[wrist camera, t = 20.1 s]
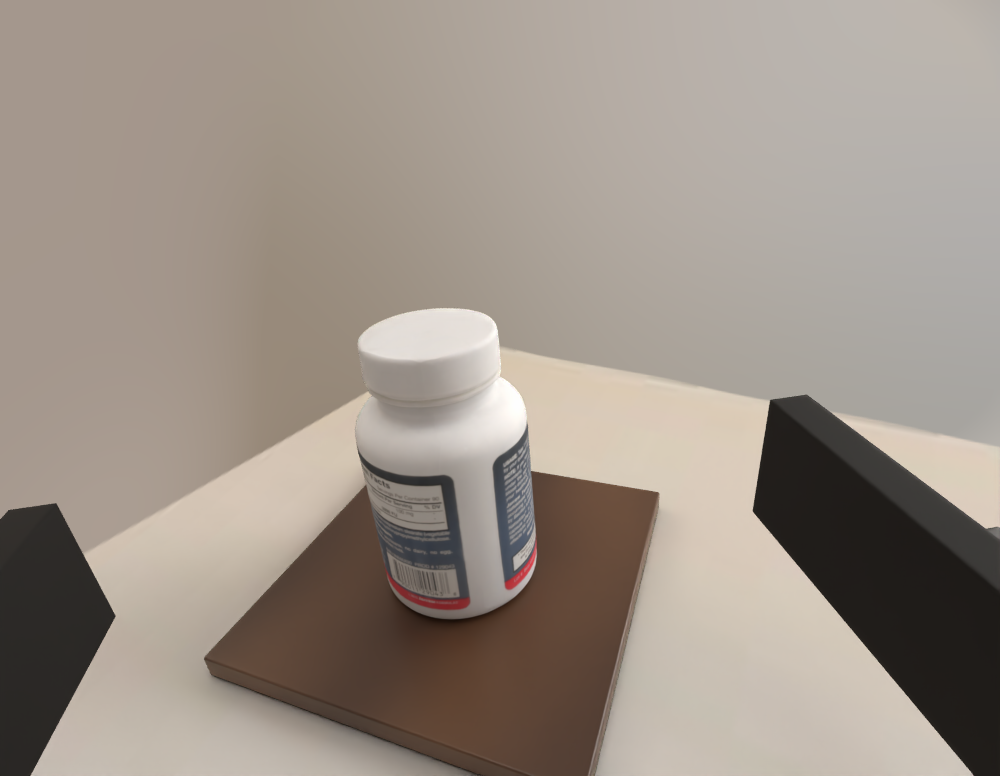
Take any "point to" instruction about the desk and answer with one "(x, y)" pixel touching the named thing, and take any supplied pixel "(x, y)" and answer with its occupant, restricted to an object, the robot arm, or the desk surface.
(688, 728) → the desk surface
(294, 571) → the coaster
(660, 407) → the desk surface
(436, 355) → the pill bottle
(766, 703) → the desk surface
